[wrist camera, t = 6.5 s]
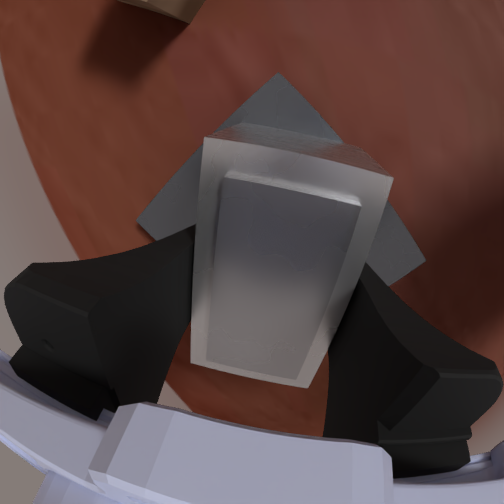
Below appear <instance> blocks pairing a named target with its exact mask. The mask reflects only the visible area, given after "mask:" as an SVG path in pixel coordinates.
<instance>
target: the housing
mask: <svg viewBox="0 0 504 504" xmlns="http://www.w3.org/2000/svg"><path fill="white" fill-rule="evenodd" d="M392 182H393V177H392V176H391V175H390V174H389V173H388V172H387V171H386V170H385V169H384V168H383V167H381V166H380V165H379V164H378V163H377V162H376V161H375V160H374V159H373V158H372V157H370V156H369V155H368V154H367V153H366V152H365V151H364V150H362V149H361V148H360V147H356V146H353V145H349V144H345V143H341V142H337V141H333V140H329V139H325V138H321V137H317V136H312V135H308V134H303V133H298V132H294V131H289V130H284V129H278V128H273V127H267V126H262V125H256V124H249V123H243V122H241V123H239V124H236V125H233V126H231V127H228V128H226V129H223V130H221V131H218V132H216V133H213V134H211V135H208V136H206V137H204V144H203V153H202V163H201V173H200V183H199V194H198V206H197V219H196V233H195V248H194V266H193V286H192V313H191V363H193V364H197V365H200V366H204V367H208V368H212V369H216V370H220V371H224V372H228V373H232V374H236V375H241V376H245V377H250V378H254V379H259V380H264V381H269V382H274V383H279V384H285V385H290V386H296V387H302V388H308V387H309V385H310V383H311V381H312V379H313V378H314V376H315V374H316V372H317V370H318V368H319V366H320V364H321V362H322V360H323V358H324V356H325V354H326V352H327V350H328V347H329V345H330V343H331V341H332V339H333V337H334V335H335V333H336V330H337V328H338V326H339V324H340V322H341V319H342V317H343V315H344V313H345V310H346V308H347V306H348V303H349V301H350V299H351V296H352V294H353V292H354V289H355V287H356V284H357V282H358V279H359V277H360V274H361V272H362V269H363V267H364V264H365V261H366V259H367V256H368V254H369V251H370V248H371V245H372V243H373V240H374V237H375V234H376V231H377V229H378V226H379V223H380V220H381V217H382V214H383V211H384V208H385V205H386V201H387V198H388V195H389V192H390V189H391V185H392Z"/></svg>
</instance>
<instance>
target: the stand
mask: <svg viewBox="0 0 504 504" xmlns="http://www.w3.org/2000/svg"><path fill="white" fill-rule="evenodd" d="M241 122H243V123H249V124H256V125H262V126H267V127H273V128H278V129H284V130H289V131H294V132H298V133H303V134H308V135H312V136H317V137H321V138H325V139H329V140H333V141H337V142H341V143H344V142H343V141H342V140H341V139H340V138H339V136H338V135H337V134H336V133H335V132H334V131H333V129H332V128H331V127H330V126H329V125H328V124H327V123H326V121H325V120H324V119H323V118H322V117H321V116H320V115H319V114H318V112H317V111H316V110H315V109H314V108H313V107H312V106H311V105H310V104H309V103H308V102H307V101H306V99H305V98H304V97H303V96H302V95H301V94H300V93H299V92H298V91H297V90H296V89H295V88H294V87H293V86H292V85H291V84H290V83H289V82H288V81H287V80H286V79H285V78H284V77H283V76H282V75H281V74H280V73H279V72H278V73H277V74H276V75H275V76H273V77H272V78H271V79H270V80H269V81H268V82H267V83H265V84H264V85H263V86H262V87H261V88H260V89H259V90H258V91H256V92H255V93H254V94H253V95H252V96H251V97H250V98H249V99H248V100H247V101H246V102H245V103H244V104H242V105H241V106H240V107H239V108H238V109H237V110H236V111H235V112H234V113H233V114H232V115H231V116H230V117H229V118H228V119H227V120H226V121H225V122H224V123H223V124H222V125H221V126H220V127H219V128H218V129H217V130H216V131H215V132H214V133H216V132H218V131H221V130H223V129H226V128H228V127H231V126H233V125H236V124H239V123H241ZM203 144H204V143H203ZM203 144H202V145H201V146H200V147H199V148H198V149H197V150H196V152H195V153H194V154H193V155H192V156H191V157H190V158H189V159H188V160H187V161H186V162H185V163H184V164H183V166H182V167H181V168H180V169H179V170H178V171H177V172H176V173H175V174H174V176H173V177H172V178H171V179H170V180H169V181H168V182H167V184H166V185H165V186H164V187H163V188H162V189H161V191H160V192H159V193H158V194H157V195H156V196H155V198H154V199H153V200H152V201H151V202H150V204H149V205H148V206H147V207H146V208H145V210H144V211H143V212H142V213H141V215H140V216H139V217H138V218H137V219H136V221H137V222H138V223H139V224H140V225H141V226H142V227H143V228H144V229H145V230H146V231H147V232H148V233H149V234H150V235H151V236H152V237H153V238H154V239H155V240H156V241H158V240H160V239H163V238H165V237H168V236H170V235H172V234H174V233H177V232H179V231H181V230H183V229H185V228H188V227H190V226H192V225H194V224H196V219H197V206H198V194H199V183H200V173H201V163H202V153H203ZM425 261H426V259H425V258H424V256H423V254H422V252H421V251H420V249H419V248H418V246H417V244H416V243H415V241H414V239H413V238H412V236H411V235H410V233H409V231H408V230H407V228H406V227H405V225H404V224H403V222H402V221H401V219H400V218H399V216H398V215H397V213H396V212H395V210H394V209H393V207H392V206H391V204H390V203H389V202H388V200H387V201H386V205H385V208H384V211H383V214H382V217H381V220H380V223H379V226H378V229H377V231H376V234H375V237H374V240H373V243H372V245H371V248H370V251H369V254H368V256H367V259H366V261H365V262H366V263H367V264H368V265H369V266H370V267H371V268H372V269H373V270H374V271H375V273H376V274H377V275H378V276H379V277H380V278H381V279H382V280H383V281H384V282H385V283H386V285H387V286H390V285H391V284H393V283H394V282H396V281H397V280H399V279H400V278H402V277H403V276H405V275H406V274H408V273H409V272H411V271H412V270H414V269H415V268H417V267H418V266H419V265H421V264H422V263H424V262H425Z"/></svg>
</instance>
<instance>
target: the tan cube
mask: <svg viewBox="0 0 504 504" xmlns="http://www.w3.org/2000/svg"><path fill="white" fill-rule="evenodd" d="M118 1H121V2H124V3H127V4H131V5H134V6H138V7H141V8H145V9H148V10H151V11H154V12H157V13H161V14H164V15H166V16H169V17H172V18H175V19H178V20H180V21H183V22H186V23H188V24H190V23H191V21H192V20H193V18H194V17H195V15H196V14H197V12H198V11H199V9H200V8H201V6H202V5H203V3H204V2H205V0H118Z"/></svg>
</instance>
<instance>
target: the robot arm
mask: <svg viewBox="0 0 504 504" xmlns="http://www.w3.org/2000/svg"><path fill="white" fill-rule="evenodd" d="M195 233H196V224H194V225H192V226H190V227H188V228H185V229H183V230H181V231H179V232H177V233H174V234H172V235H170V236H168V237H165V238H163V239H160V240H158V241H155V242H153V243H150V244H148V245H145V246H142V247H139V248H136V249H132V250H129V251H126V252H122V253H118V254H113V255H108V256H104V257H99V258H94V259H87V260H79V261H71V262H50V263H32V264H30V266H28V267H27V268H26V269H25V270H24V271H23V272H21V273H20V274H19V275H18V276H17V277H16V278H14V279H13V280H12V281H11V282H10V283H9V284H8V285H7V286H6V288H5V292H4V300H5V305H6V309H7V312H8V314H9V317H10V319H11V321H12V324H13V326H14V328H15V330H16V332H17V334H18V336H19V339H20V341H21V343H22V344H23V345H22V346H21V347H20V349H19V350H18V351H17V352H16V353H15V355H14V356H13V357H10V356H9V355H8V354H6V353H5V352H3V351H2V350H0V441H2V442H3V443H4V444H5V445H6V446H8V447H9V448H10V449H11V450H12V451H14V452H15V453H17V454H18V455H19V456H20V457H22V458H23V459H24V460H26V461H27V462H28V463H30V464H31V465H32V466H34V467H35V468H37V469H38V470H39V471H41V472H42V473H44V474H45V475H46V477H45V479H44V480H43V482H42V484H41V486H40V488H39V490H38V493H37V495H36V497H35V499H34V501H33V503H32V504H504V441H502V442H501V443H499V444H498V445H497V446H495V447H494V448H493V449H492V450H491V451H490V452H486V453H482V454H477V455H472V456H470V455H469V450H468V445H467V441H466V440H469V439H470V438H471V436H472V432H471V428H470V426H471V425H472V424H473V423H474V422H475V421H477V420H478V419H479V418H480V417H481V416H482V415H483V414H484V413H485V412H486V411H487V410H488V409H489V408H490V407H491V406H492V405H493V404H494V403H495V402H496V400H497V399H498V397H499V395H500V394H501V391H502V387H503V381H502V378H501V375H500V373H499V371H498V368H497V366H496V364H495V362H494V361H492V360H490V359H488V358H486V357H484V356H482V355H480V354H478V353H475V352H473V351H471V350H469V349H468V348H466V347H464V346H462V345H461V344H459V343H457V342H456V341H454V340H452V339H451V338H449V337H448V336H446V335H445V334H443V333H442V332H440V331H439V330H438V329H436V328H435V327H433V326H432V325H431V324H429V323H428V322H427V321H425V320H424V319H423V318H422V317H420V316H419V315H418V314H417V313H416V312H415V311H413V310H412V309H411V308H410V307H409V306H408V305H406V304H405V303H404V302H403V301H402V300H401V299H400V298H399V297H398V296H397V295H396V294H395V293H394V292H393V291H392V290H391V289H390V288H389V287H388V286H387V285H386V283H385V282H384V281H383V280H382V279H381V278H380V277H379V276H378V275H377V274H376V273H375V271H374V270H373V269H372V268H371V267H370V266H369V265H368V264H367V263H366V262H365V264H364V267H363V269H362V272H361V274H360V277H359V279H358V282H357V284H356V287H355V289H354V292H353V294H352V296H351V299H350V301H349V303H348V306H347V308H346V310H345V313H344V315H343V317H342V319H341V322H340V324H339V326H338V328H337V330H336V333H335V335H334V337H333V339H332V341H331V343H330V345H329V347H328V356H329V387H328V400H327V409H326V418H325V425H324V431H323V437H316V436H307V435H299V434H292V433H285V432H279V431H272V430H267V429H261V428H256V427H251V426H246V425H241V424H237V423H232V422H228V421H223V420H219V419H215V418H211V417H208V416H204V415H200V414H196V413H193V412H189V411H186V410H182V409H179V408H175V407H169V406H164V405H159V404H157V402H158V399H159V396H160V393H161V390H162V387H163V384H164V381H165V378H166V375H167V373H168V370H169V367H170V364H171V362H172V359H173V356H174V354H175V351H176V349H177V346H178V344H179V342H180V340H181V337H182V335H183V333H184V332H185V330H186V328H187V326H188V324H189V322H190V321H191V313H192V286H193V266H194V248H195Z"/></svg>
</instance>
